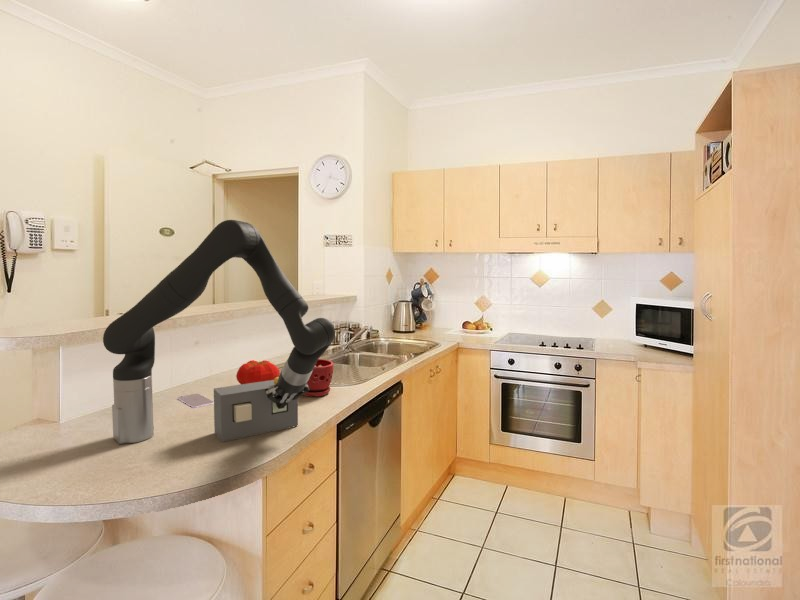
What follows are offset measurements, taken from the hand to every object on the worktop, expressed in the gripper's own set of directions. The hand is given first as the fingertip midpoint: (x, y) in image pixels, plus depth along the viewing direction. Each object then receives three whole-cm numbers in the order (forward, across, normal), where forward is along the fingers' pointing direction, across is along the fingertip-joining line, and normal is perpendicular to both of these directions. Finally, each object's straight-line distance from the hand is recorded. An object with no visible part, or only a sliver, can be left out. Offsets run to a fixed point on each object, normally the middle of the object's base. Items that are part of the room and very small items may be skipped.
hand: (280, 405), depth 134 cm
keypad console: (+8, +5, +2) cm, 10 cm away
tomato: (+40, -10, -30) cm, 51 cm away
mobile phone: (+36, +15, -25) cm, 46 cm away
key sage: (+3, 0, 0) cm, 3 cm away
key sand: (+2, +11, +1) cm, 11 cm away
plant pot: (+25, -24, -15) cm, 38 cm away
